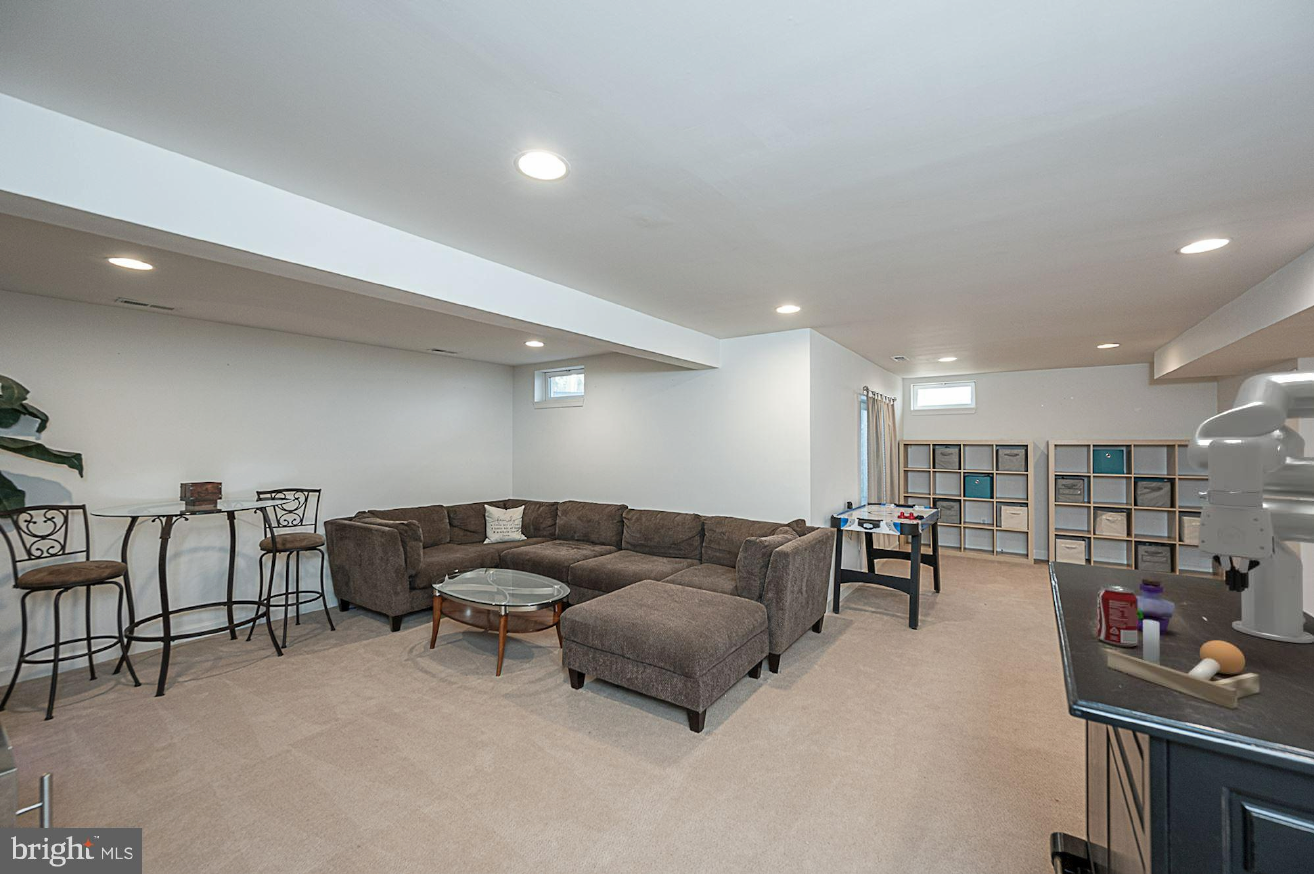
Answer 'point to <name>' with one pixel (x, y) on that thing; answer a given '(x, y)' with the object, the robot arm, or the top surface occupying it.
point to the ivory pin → (1205, 669)
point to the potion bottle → (1153, 605)
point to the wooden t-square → (1188, 680)
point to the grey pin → (1151, 641)
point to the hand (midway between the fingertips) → (1237, 590)
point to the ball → (1224, 656)
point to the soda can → (1117, 616)
